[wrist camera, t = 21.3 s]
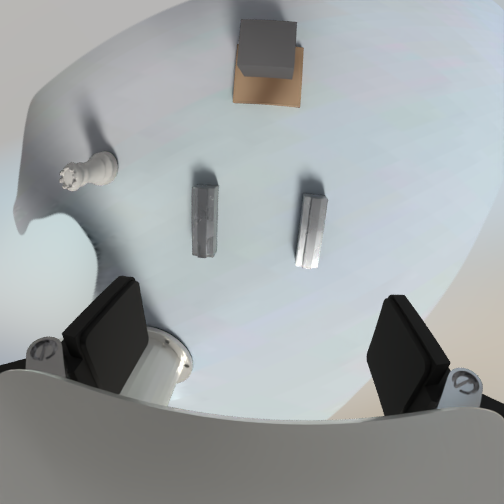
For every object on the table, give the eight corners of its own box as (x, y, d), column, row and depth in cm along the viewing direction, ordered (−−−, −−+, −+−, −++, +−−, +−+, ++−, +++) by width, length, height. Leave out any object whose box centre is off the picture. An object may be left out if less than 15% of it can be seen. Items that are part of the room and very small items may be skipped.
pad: (234, 103, 27) (232, 102, 26) (238, 46, 24) (237, 43, 23) (299, 107, 27) (300, 106, 26) (302, 50, 24) (303, 47, 23)
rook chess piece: (88, 168, 31) (48, 179, 24) (105, 143, 30) (65, 149, 23) (106, 191, 33) (68, 207, 25) (125, 167, 31) (87, 177, 24)
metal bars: (197, 248, 34) (191, 256, 32) (197, 184, 31) (191, 188, 29) (315, 260, 33) (317, 269, 31) (325, 195, 30) (328, 200, 28)
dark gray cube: (244, 76, 25) (236, 65, 20) (247, 36, 23) (241, 19, 18) (292, 79, 25) (294, 68, 20) (294, 39, 23) (296, 22, 18)
